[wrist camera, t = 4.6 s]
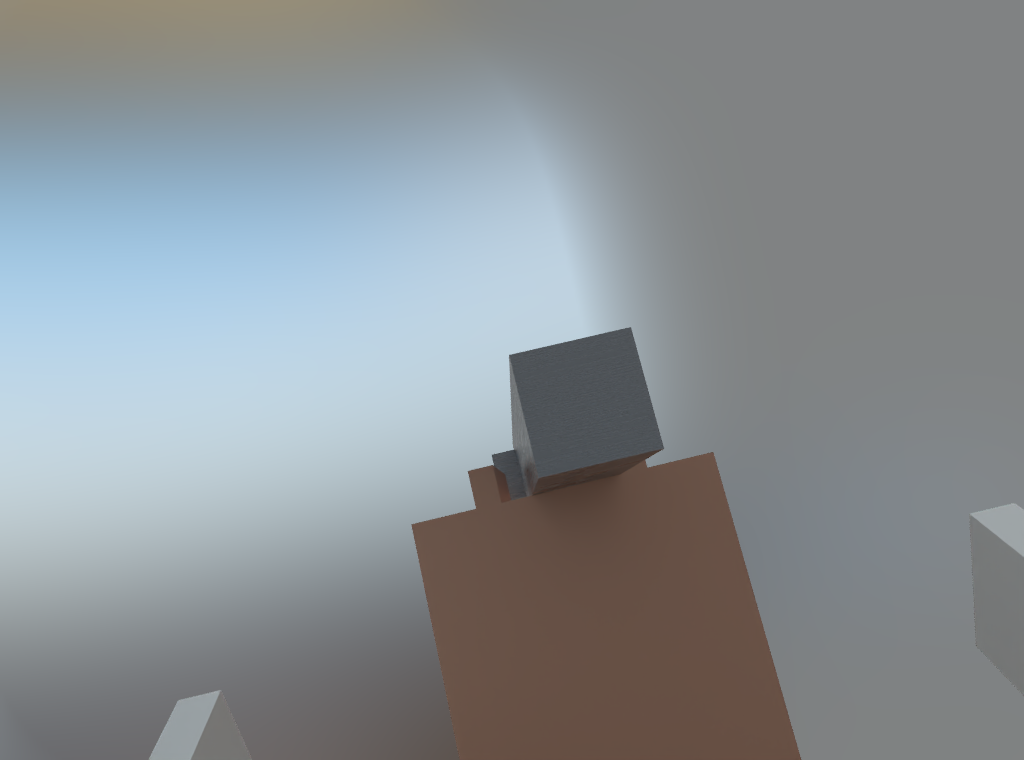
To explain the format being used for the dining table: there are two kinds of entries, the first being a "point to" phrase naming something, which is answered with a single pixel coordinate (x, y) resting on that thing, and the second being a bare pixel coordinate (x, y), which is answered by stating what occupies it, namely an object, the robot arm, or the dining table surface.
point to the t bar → (577, 414)
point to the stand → (602, 622)
